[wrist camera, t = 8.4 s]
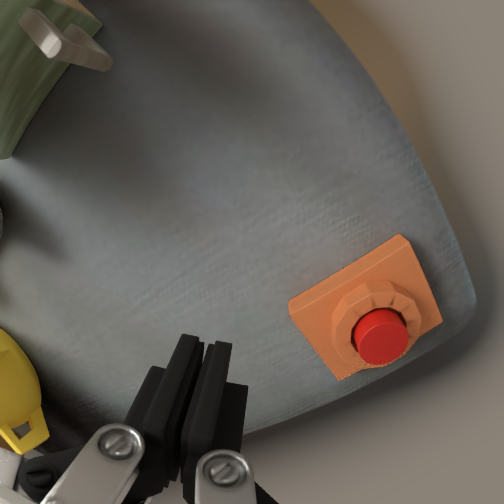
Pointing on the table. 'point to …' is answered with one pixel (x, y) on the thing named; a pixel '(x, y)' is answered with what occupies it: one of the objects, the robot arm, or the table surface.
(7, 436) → the teapot
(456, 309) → the table surface
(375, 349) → the button
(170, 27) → the table surface
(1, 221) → the black and yellow shoe
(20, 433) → the coffee cup
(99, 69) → the door
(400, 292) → the button block
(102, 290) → the table surface
